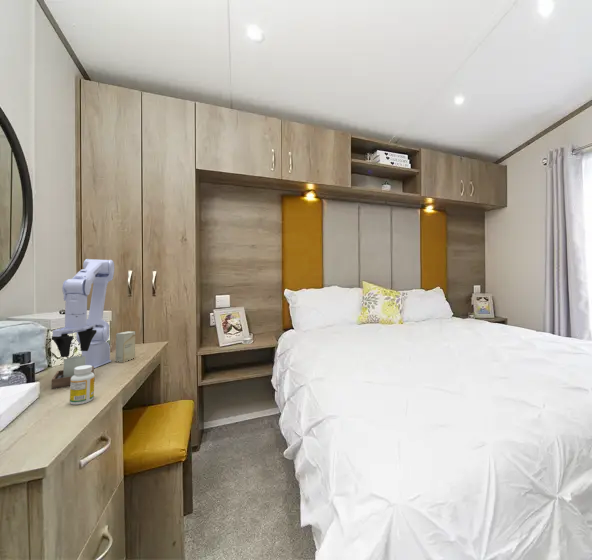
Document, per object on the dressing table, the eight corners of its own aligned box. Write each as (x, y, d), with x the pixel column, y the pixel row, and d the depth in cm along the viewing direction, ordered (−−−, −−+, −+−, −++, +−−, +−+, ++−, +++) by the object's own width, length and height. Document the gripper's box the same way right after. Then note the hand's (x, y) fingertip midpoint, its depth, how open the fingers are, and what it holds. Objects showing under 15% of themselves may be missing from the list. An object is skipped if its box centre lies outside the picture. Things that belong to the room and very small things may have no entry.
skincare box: (123, 362, 111) (124, 333, 111) (114, 361, 112) (115, 333, 112) (135, 358, 117) (136, 331, 117) (127, 357, 118) (127, 330, 118)
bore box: (57, 379, 91) (57, 370, 91) (93, 374, 96) (93, 366, 96) (51, 389, 82) (51, 379, 83) (91, 382, 88) (91, 373, 88)
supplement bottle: (76, 406, 71) (77, 371, 71) (65, 403, 73) (66, 368, 74) (98, 398, 76) (99, 365, 76) (87, 395, 78) (88, 363, 79)
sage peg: (73, 379, 91) (74, 356, 92) (84, 379, 91) (85, 356, 91) (63, 383, 87) (63, 359, 88) (74, 383, 87) (75, 359, 87)
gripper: (68, 316, 82) (67, 360, 82) (103, 311, 97) (102, 348, 97) (46, 316, 83) (45, 359, 82) (85, 311, 97) (84, 348, 97)
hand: (75, 353), depth 90 cm, fingers open, 7 cm apart
